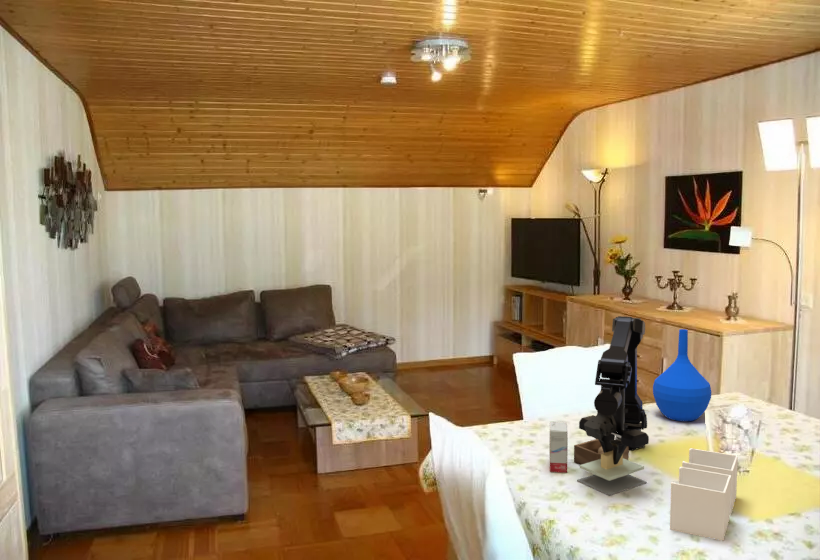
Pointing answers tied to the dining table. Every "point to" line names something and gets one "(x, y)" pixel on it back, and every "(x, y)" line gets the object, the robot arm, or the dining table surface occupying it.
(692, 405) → the vase
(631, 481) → the mat
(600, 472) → the lid
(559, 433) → the ink box
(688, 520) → the storage container
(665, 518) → the dining table surface
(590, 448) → the box
